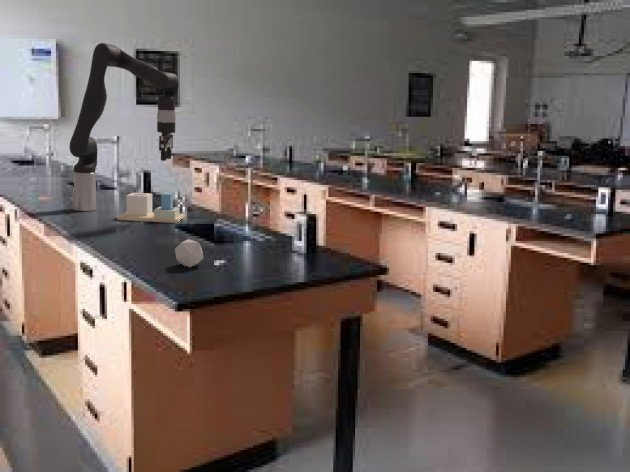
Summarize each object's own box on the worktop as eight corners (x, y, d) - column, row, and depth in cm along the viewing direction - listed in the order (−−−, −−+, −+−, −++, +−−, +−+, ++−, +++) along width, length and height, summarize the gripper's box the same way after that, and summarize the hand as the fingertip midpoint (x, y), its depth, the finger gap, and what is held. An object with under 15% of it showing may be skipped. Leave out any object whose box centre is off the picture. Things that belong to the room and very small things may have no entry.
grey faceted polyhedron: (183, 262, 210) (167, 241, 204) (207, 250, 210) (192, 228, 204) (185, 278, 203) (169, 256, 197) (210, 265, 203) (195, 243, 197)
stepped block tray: (117, 219, 272) (117, 196, 270) (127, 214, 286) (127, 192, 284) (178, 223, 272) (178, 199, 270) (185, 217, 286) (185, 195, 284)
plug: (161, 217, 275) (161, 194, 273) (163, 215, 279) (163, 193, 277) (170, 217, 275) (170, 194, 273) (172, 216, 279) (172, 193, 277)
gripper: (161, 120, 276) (161, 157, 279) (152, 121, 262) (152, 160, 265) (179, 121, 276) (178, 158, 279) (171, 122, 262) (170, 161, 265)
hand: (166, 159), depth 272 cm, fingers open, 8 cm apart
